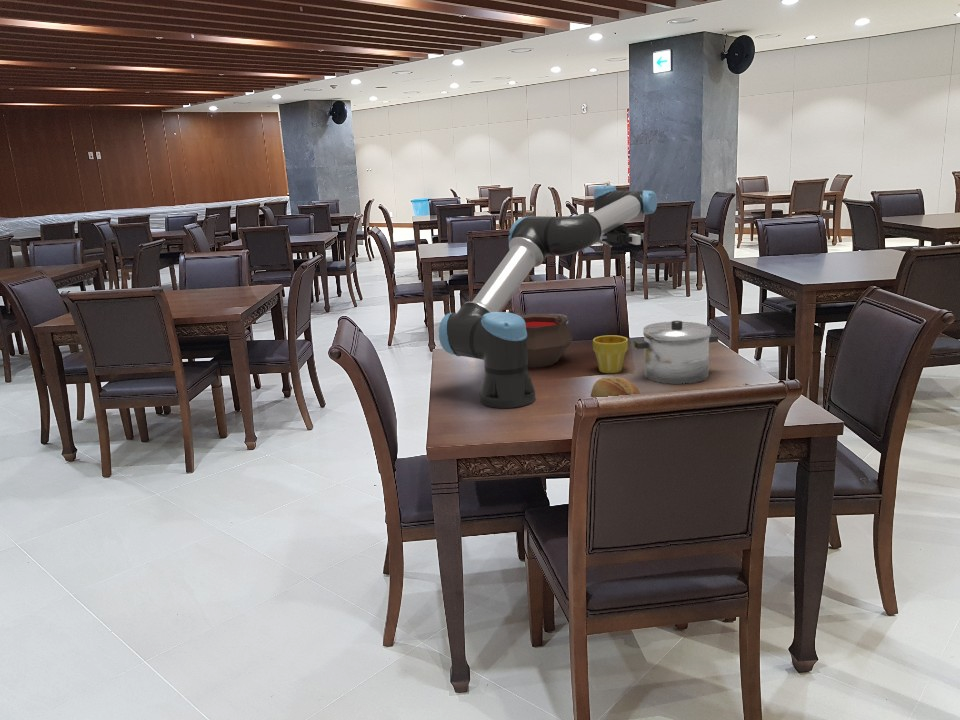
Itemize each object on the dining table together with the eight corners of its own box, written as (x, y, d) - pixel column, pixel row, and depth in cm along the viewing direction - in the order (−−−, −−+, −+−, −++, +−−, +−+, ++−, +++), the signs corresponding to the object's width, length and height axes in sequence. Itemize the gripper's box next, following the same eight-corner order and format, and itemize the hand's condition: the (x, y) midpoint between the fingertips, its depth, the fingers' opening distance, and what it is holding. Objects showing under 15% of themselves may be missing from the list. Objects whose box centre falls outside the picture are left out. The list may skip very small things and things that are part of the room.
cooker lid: (658, 344, 198) (658, 331, 197) (634, 330, 216) (634, 318, 215) (722, 338, 200) (723, 325, 199) (693, 324, 218) (693, 312, 217)
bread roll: (625, 419, 179) (625, 388, 177) (581, 406, 190) (580, 376, 188) (650, 409, 184) (650, 379, 182) (605, 397, 196) (605, 368, 194)
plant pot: (627, 375, 214) (627, 343, 212) (592, 375, 216) (591, 343, 214) (628, 365, 224) (628, 334, 221) (594, 365, 226) (593, 335, 223)
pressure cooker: (647, 387, 201) (647, 345, 198) (622, 368, 221) (622, 330, 218) (729, 379, 204) (730, 337, 201) (697, 361, 224) (698, 323, 221)
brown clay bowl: (483, 363, 236) (480, 314, 232) (535, 348, 251) (533, 302, 247) (536, 376, 218) (534, 323, 214) (588, 359, 234) (587, 309, 229)
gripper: (632, 244, 243) (658, 251, 220) (594, 247, 241) (617, 254, 219) (632, 221, 241) (659, 226, 219) (594, 224, 240) (617, 228, 217)
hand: (638, 240), depth 219 cm, fingers closed
